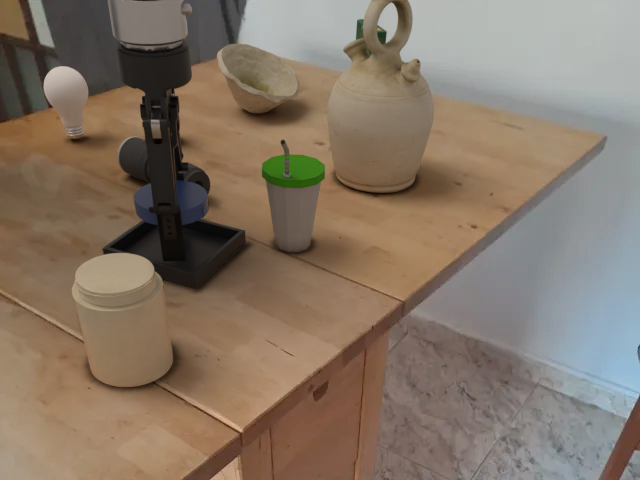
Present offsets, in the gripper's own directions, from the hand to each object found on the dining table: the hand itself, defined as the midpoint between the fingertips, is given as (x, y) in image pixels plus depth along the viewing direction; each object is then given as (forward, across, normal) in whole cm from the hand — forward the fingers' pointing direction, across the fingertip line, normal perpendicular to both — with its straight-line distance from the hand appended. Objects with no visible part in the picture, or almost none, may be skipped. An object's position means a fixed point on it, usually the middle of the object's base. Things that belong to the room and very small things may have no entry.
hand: (176, 240), depth 86 cm
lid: (-6, 0, 0) cm, 6 cm away
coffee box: (+2, +57, -33) cm, 66 cm away
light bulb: (+2, +38, +18) cm, 43 cm away
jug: (+2, +22, -29) cm, 37 cm away
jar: (+2, -22, +4) cm, 23 cm away
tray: (+2, 0, 0) cm, 2 cm away
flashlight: (+2, +19, +3) cm, 19 cm away
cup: (+2, +2, -15) cm, 15 cm away
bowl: (+2, +52, -12) cm, 53 cm away
